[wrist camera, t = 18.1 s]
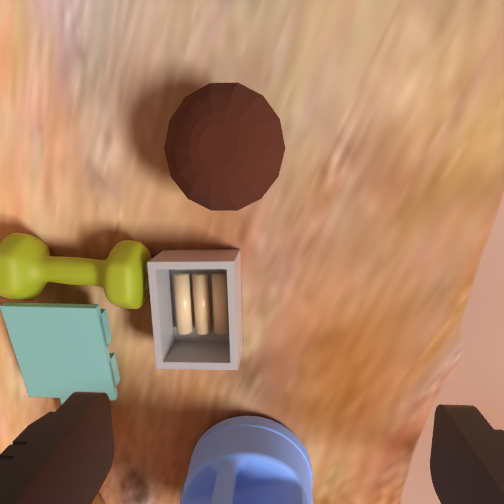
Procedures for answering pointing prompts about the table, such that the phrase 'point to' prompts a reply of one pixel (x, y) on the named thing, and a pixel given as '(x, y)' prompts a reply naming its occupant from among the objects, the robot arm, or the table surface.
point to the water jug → (248, 465)
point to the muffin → (224, 146)
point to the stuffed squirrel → (98, 499)
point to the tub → (197, 308)
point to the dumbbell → (73, 270)
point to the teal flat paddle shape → (62, 348)
